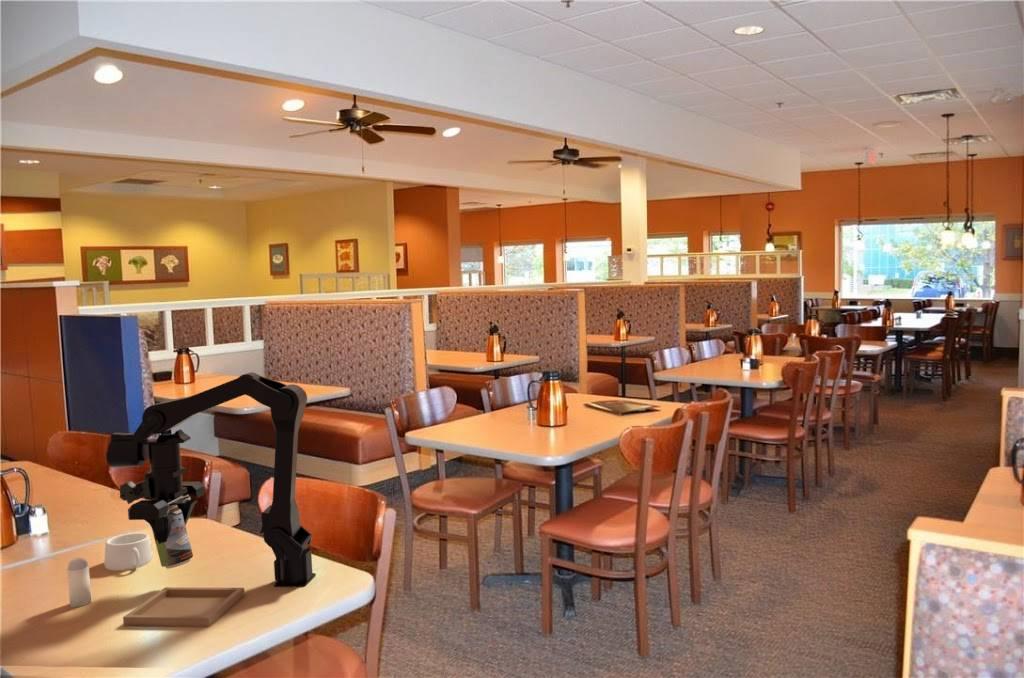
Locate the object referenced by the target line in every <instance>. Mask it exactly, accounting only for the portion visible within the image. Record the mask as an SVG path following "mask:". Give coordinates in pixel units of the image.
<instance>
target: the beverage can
mask: <svg viewBox="0 0 1024 678" xmlns="http://www.w3.org/2000/svg"><path fill="white" fill-rule="evenodd" d="M168 513H174V516H173V521H172V525H171V530H170V534H169V536H168V539H167V542H162V543H160V544H159V542H158V540H157V538H156V536H155V534H154V531H153V529H152V528H151V531H152V535H153V538H154V543H155V546H156V547H155V548H156V550H157V554H158V558H159V562H160V566H161V567H163V568H166V569H172V568H177V567H181V566H183V565H185V564H187V563H189V562H191V559H192V558H193V557H194V554H193V550H192V545H191V542H190V538H189V534H188V531H187V527H186V526H187V525H186V526H185V522H184V518H183V514H182V511H181V510H180V509H179V508H178V507H177V505H173V506H169V507H168Z"/></svg>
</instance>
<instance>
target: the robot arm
mask: <svg viewBox="0 0 1024 678" xmlns="http://www.w3.org/2000/svg"><path fill="white" fill-rule="evenodd" d="M242 396H248V397H250V398H251V399H253V400H255V401H256V402H257V403H259V404H261V405H263V406H266V407H268V408H269V409H270V416H271V421H272V424H273V427H274V431H275V443H274V444H275V447H274V463H273V464H274V465H273V466H274V467H273V483H272V484H273V487H272V501H271V502H272V503H271V504H270V505H269V506H268V507H267V508H265V509H264V510H263V511H262V512H261V523H262V525H261V529H260V531H259V534H263V541H264V543H265V544H266V545H267V546H268V547H269V548H271V549H272V553H273V554H274V556H275V560H274V561H273V568H274V569H273V572H274V581H275V583H274V584H273V587H275V588H304V587H307V585H309V583H311V581H312V580H313V579H315V578H316V576H317V574H316V573H315V572H314V573H313V560H312V558H313V557H312V548H308V546H310V544H311V542H312V538H313V534H311V532H310V531H308V530H307V529H306V528H305V527H304V526H303V525H301V518H300V510H299V508H298V504H297V502H296V485H297V483H296V482H297V480H296V479H297V466H298V465H297V463H298V461H297V460H298V459H297V458H298V443H299V442H298V441H299V429H300V428H301V424H302V420H303V418H304V415H305V411H306V406H307V402H308V395H307V392H306V391H305V390H304V389H303V387H301V386H299V385H298V384H285V383H283V382H280V381H277V380H275V379H274V380H273V379H270V378H267V377H265V376H261V375H260V374H257V373H256V372H247V373H244V374H241V375H240V376H239V377H237V378H234V379H231V380H229V381H227V382H224V383H222V384H219V385H217V386H214V387H211V388H208V389H206V390H204V391H201V392H198V393H196V394H193V395H190V396H186V397H179V398H178V397H177V398H173V399H169V400H165V401H161V402H158V403H155V404H152V405H150V406H148V407H146V408H145V409H144V410H143V413H142V415H141V416H142V417H141V420H142V421H141V422H140V423H139V426H138V427H137V429H136V430H135V432H130V433H129V432H128V433H126V432H114V433H112V434H111V435H110V442H109V443H108V446H107V449H106V450H107V452H106V453H105V455H106V456H105V457H106V462H107V464H108V466H109V467H110V468H131V467H132V468H133V467H144V465H145V464H146V462H147V461H149V471H148V472H146V473H145V474H144V480H142V481H139V482H137V483H134V482H133V481H132V480H131V481H128V482H125V483H123V484H121V485H119V498H120V499H121V500H122V501H126V503H127V505H129V504H131V505H130V507H128V509H127V514H128V515H127V518H128V520H129V521H145V522H146V523H148V524H149V526H150V527H151V530H152V529H153V531H154V534H155V536H156V538H157V540H158V542H159V544H160V543H162V542H167V539H168V536H169V534H170V530H171V525H172V521H173V516H174V513H168V507H169V506H173V505H177V507H178V508H179V509H180V510H181V511H182V514H183V518H184V522H185V526H187V523H188V521H189V518H190V516H191V514H192V511H193V509H194V507H195V505H196V504H197V503H198V499H199V498H200V497H202V496H204V495H205V485H204V484H203V483H202V482H201V481H183V474H186V473H187V468H186V466H185V467H184V466H183V467H182V459H181V458H182V454H181V444H185V443H186V442H188V441H190V440H191V436H190V435H188V434H187V433H185V432H184V431H183V430H182V429H181V428H180V429H179V430H176V431H175V432H174V433H166V434H165V432H167V431H170V430H172V429H174V428H176V427H178V426H180V425H181V424H183V423H185V422H186V421H188V420H189V419H191V418H192V417H194V416H196V415H197V414H200V413H201V412H203V411H207V410H209V409H212V408H214V407H217V406H219V405H222V404H224V403H226V402H229V401H231V400H234V399H237V398H239V397H242ZM155 435H158V437H157V438H150V437H153V436H155ZM191 496H194V497H195V498H198V499H191ZM142 498H144V499H142ZM140 499H141V500H140ZM135 501H137V502H135ZM133 502H134V503H133ZM132 503H133V504H132ZM153 531H152V532H153Z"/></svg>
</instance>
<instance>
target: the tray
mask: <svg viewBox="0 0 1024 678" xmlns="http://www.w3.org/2000/svg"><path fill="white" fill-rule="evenodd" d="M245 595H246V594H245V587H182V586H181V587H171V586H170V587H167V586H166V587H164V588H162V589H161V590H160V591H158V592H157V593H155V594H154V595H152V596H151V597H150V598H148V599H146V600H145V601H144V602H142V603H141V604H139V605H138V606H137V607H135V608H134V609H132V610H131V611H129V612H128V613H127V614H125V615H124V616H123V617H122V620H123V626H124V627H187V628H188V627H192V628H193V627H197V628H198V627H199V628H201V627H202V628H203V627H204V628H210V627H212V626H213V624H215V622H216V621H218V620H219V619H220V618H221V617H223V615H225V613H227V612H228V611H229V610H230V609H232V608H233V607H234V606H235V605H236V604H237V603H238V602H239V601H241V599H243V598H244V597H245Z"/></svg>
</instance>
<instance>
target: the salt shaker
mask: <svg viewBox="0 0 1024 678" xmlns="http://www.w3.org/2000/svg"><path fill="white" fill-rule="evenodd" d="M90 579H91V577H90V565H89V563H88V561H87V560H86V559H85V558H84V557H78V556H77V557H75V558H72V559H71V560H70V561H69V563H68V564H67V581H68V597H69V606H70V607H71V608H79V607H84V606H88V605H89V604H91V603H92V592H91V581H90Z"/></svg>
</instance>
